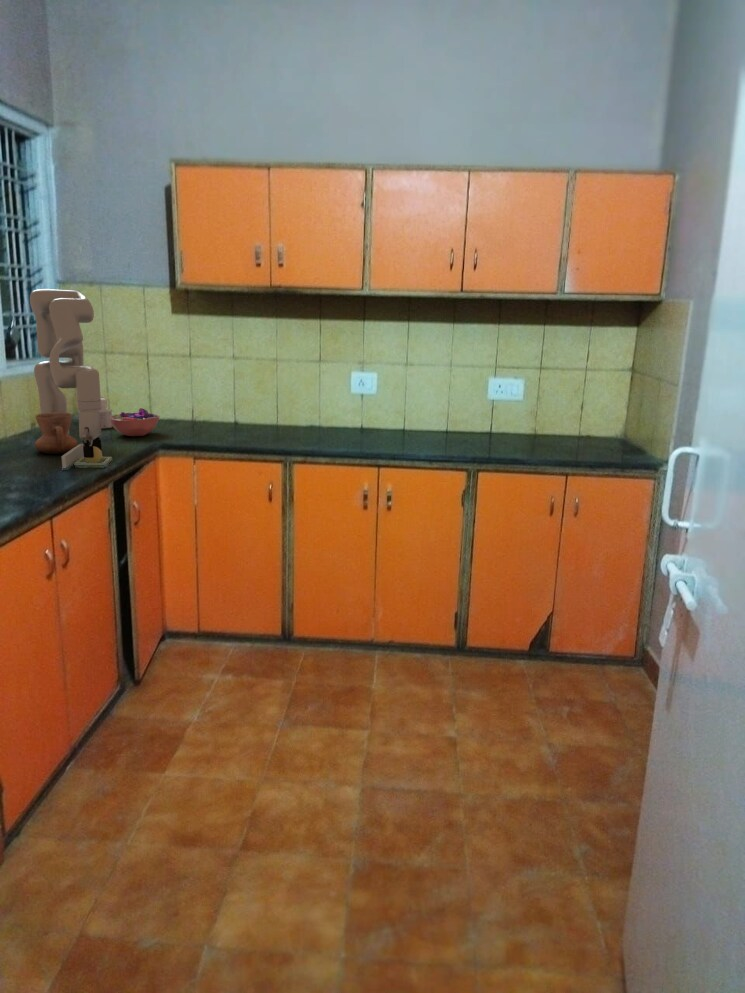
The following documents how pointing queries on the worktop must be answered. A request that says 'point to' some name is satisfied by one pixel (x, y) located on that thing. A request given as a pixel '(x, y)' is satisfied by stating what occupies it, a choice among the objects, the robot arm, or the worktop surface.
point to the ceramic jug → (55, 433)
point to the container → (105, 414)
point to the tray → (79, 462)
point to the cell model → (135, 423)
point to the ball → (95, 456)
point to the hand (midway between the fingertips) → (92, 454)
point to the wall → (72, 456)
